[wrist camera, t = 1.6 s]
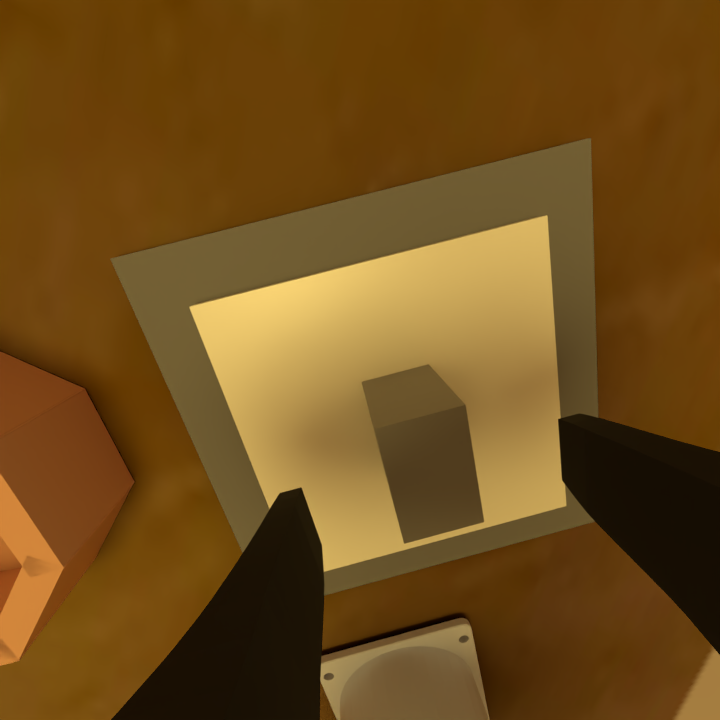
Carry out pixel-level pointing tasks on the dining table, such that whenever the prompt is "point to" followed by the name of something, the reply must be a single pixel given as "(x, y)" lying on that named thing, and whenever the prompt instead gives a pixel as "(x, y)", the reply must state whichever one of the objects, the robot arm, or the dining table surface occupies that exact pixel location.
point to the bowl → (49, 496)
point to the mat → (349, 246)
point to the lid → (400, 390)
